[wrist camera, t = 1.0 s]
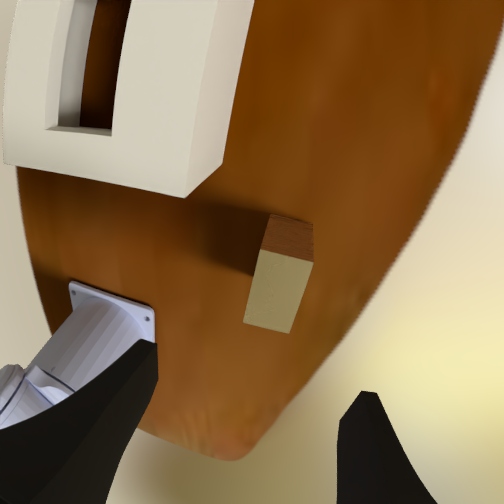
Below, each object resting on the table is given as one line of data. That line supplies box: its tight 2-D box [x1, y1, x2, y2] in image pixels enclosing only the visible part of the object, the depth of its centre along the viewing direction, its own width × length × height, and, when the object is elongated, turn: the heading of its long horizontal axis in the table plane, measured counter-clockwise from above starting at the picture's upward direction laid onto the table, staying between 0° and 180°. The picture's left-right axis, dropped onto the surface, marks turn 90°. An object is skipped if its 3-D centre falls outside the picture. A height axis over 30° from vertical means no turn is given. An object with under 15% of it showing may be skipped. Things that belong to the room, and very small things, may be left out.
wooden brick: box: [243, 214, 314, 333], centre depth 18 cm, size 4×2×4 cm, turn 169°
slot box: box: [3, 0, 254, 198], centre depth 12 cm, size 11×11×6 cm
